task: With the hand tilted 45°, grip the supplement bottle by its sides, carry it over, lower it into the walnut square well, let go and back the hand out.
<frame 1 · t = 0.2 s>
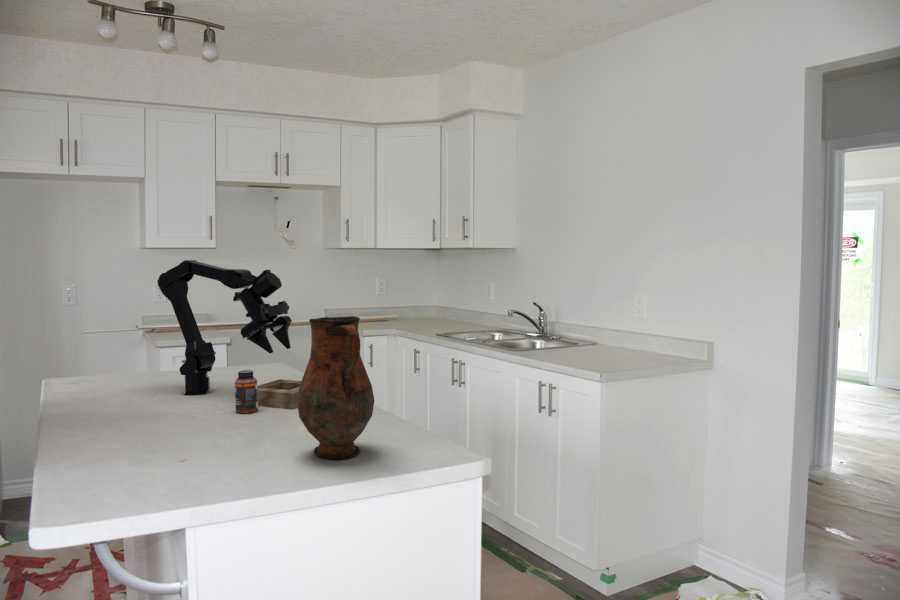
hand: (280, 350, 200), 15 cm above the counter, tool tilted 35°, fingers open, 9 cm apart
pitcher: (339, 456, 146), on the counter
supplement bottle: (246, 412, 187), on the counter
walnut well: (285, 401, 199), on the counter
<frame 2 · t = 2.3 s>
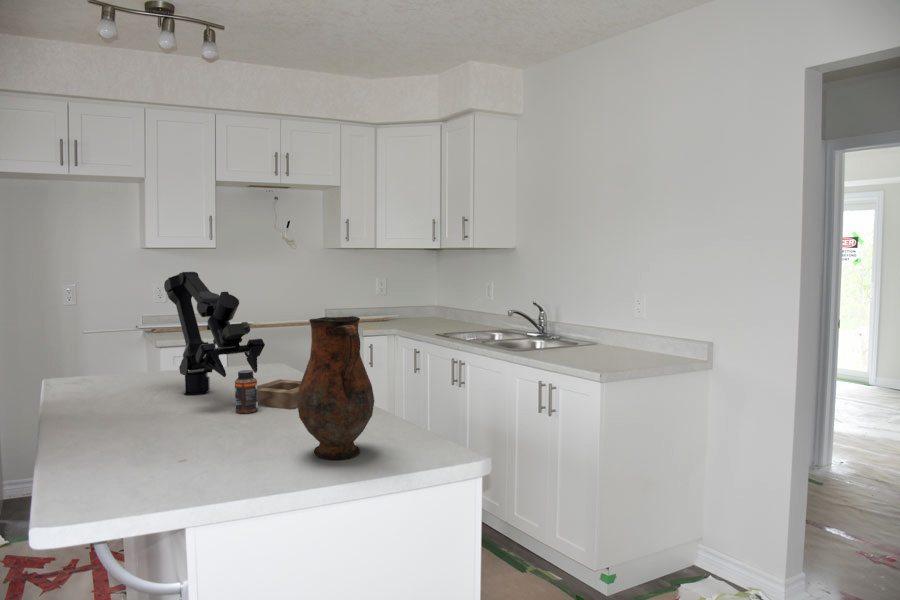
hand: (240, 373, 188), 10 cm above the counter, tool tilted 45°, fingers open, 9 cm apart
nothing on the counter moved.
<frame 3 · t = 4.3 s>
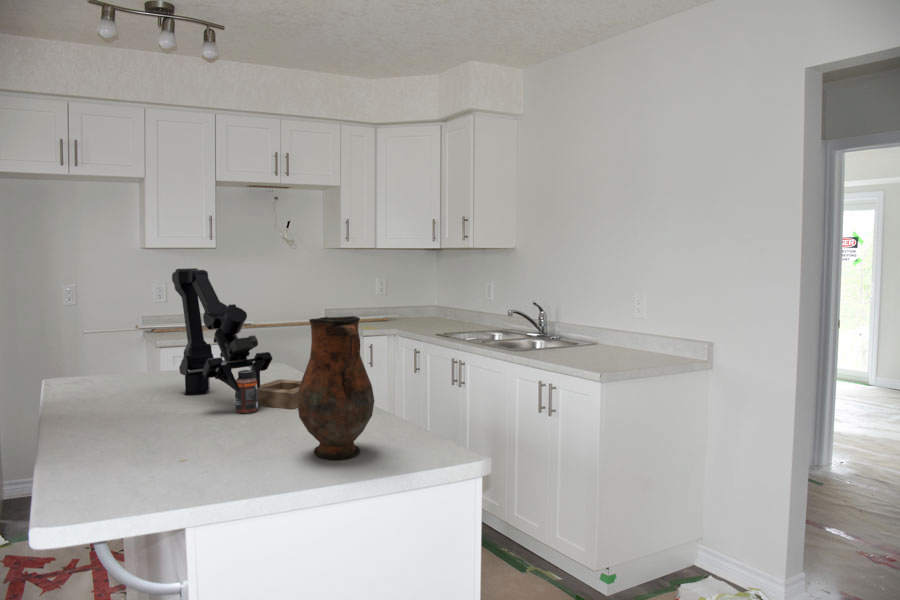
hand: (248, 388, 185), 7 cm above the counter, tool tilted 45°, fingers closed on supplement bottle, 6 cm apart
supplement bottle: (246, 412, 187), on the counter, touching gripper
everything else where it was.
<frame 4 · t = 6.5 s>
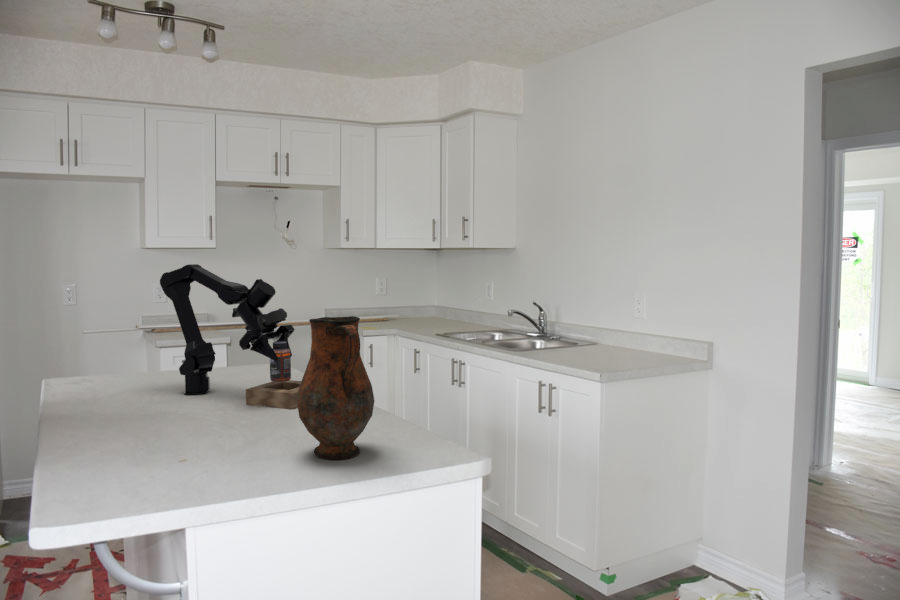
hand: (283, 358, 196), 13 cm above the counter, tool tilted 45°, fingers closed on supplement bottle, 6 cm apart
supplement bottle: (280, 381, 197), point 6 cm above the counter, touching gripper
everything else where it was.
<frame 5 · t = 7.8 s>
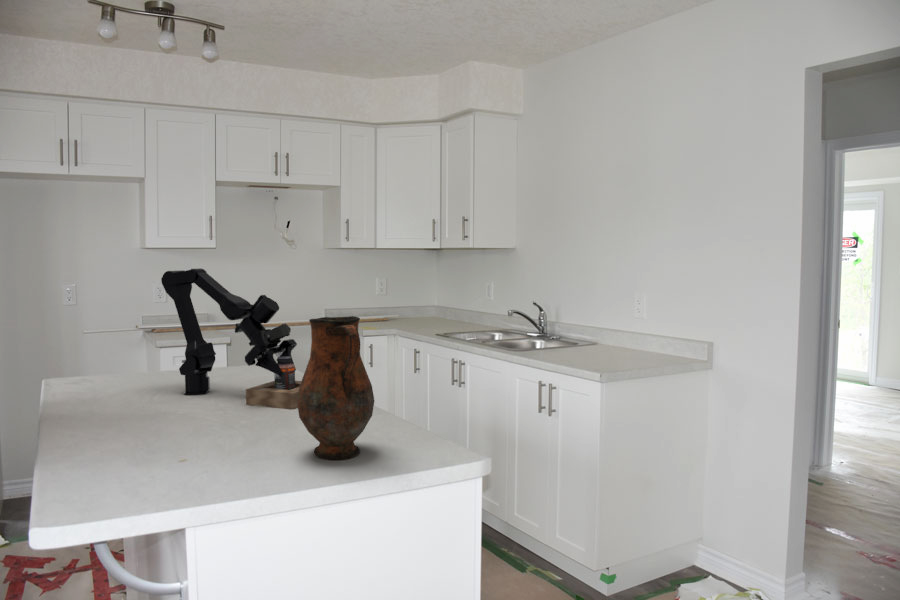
hand: (288, 373, 198), 8 cm above the counter, tool tilted 45°, fingers closed on supplement bottle, 6 cm apart
supplement bottle: (285, 395, 199), point 2 cm above the counter, touching gripper
everything else where it was.
when the fingers open (8 cm above the counter, at t = 8.7 s): supplement bottle drops 2 cm, resting in walnut well.
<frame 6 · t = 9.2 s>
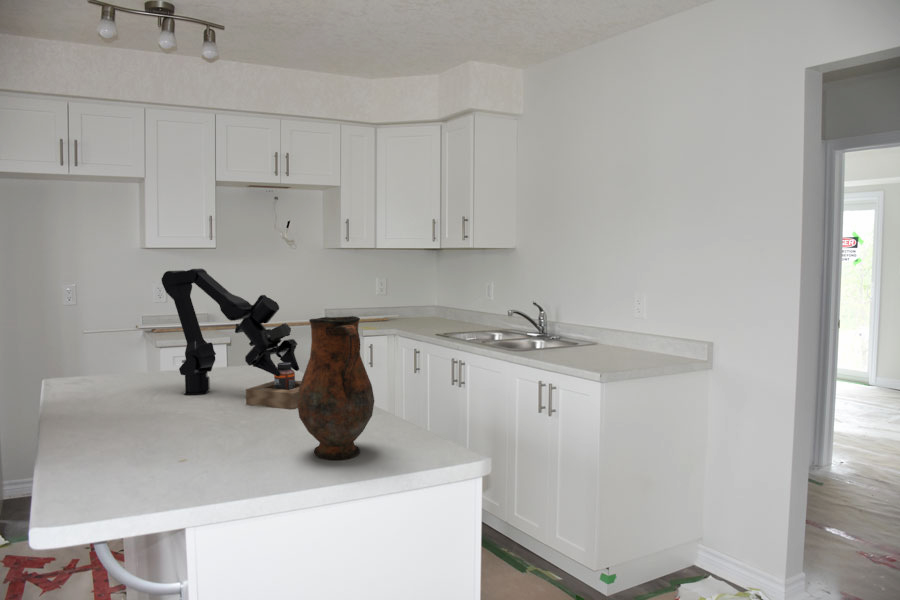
hand: (289, 372, 198), 9 cm above the counter, tool tilted 45°, fingers open, 9 cm apart
supplement bottle: (285, 401, 199), resting in walnut well
everything else where it was.
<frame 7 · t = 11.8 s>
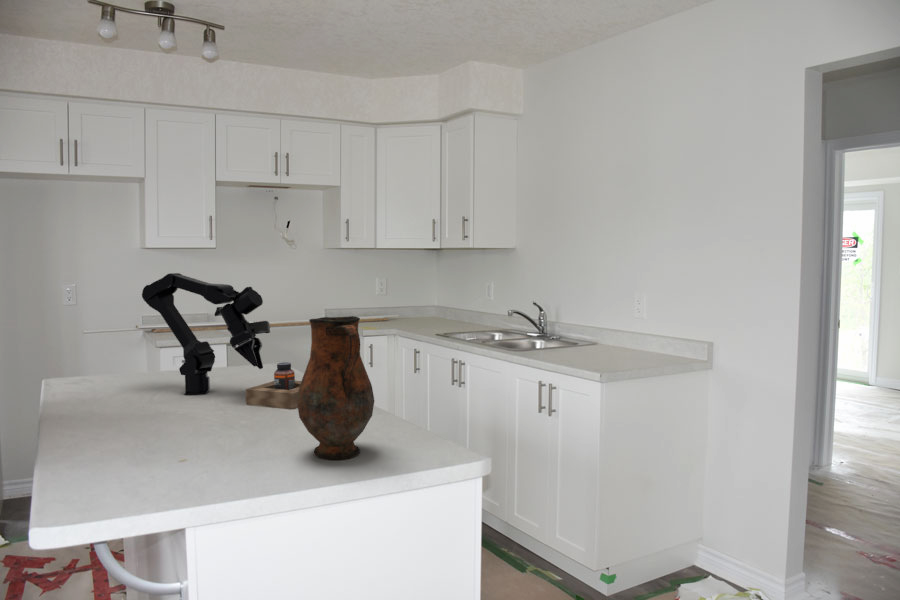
hand: (258, 367, 203), 9 cm above the counter, tool tilted 30°, fingers open, 9 cm apart
nothing on the counter moved.
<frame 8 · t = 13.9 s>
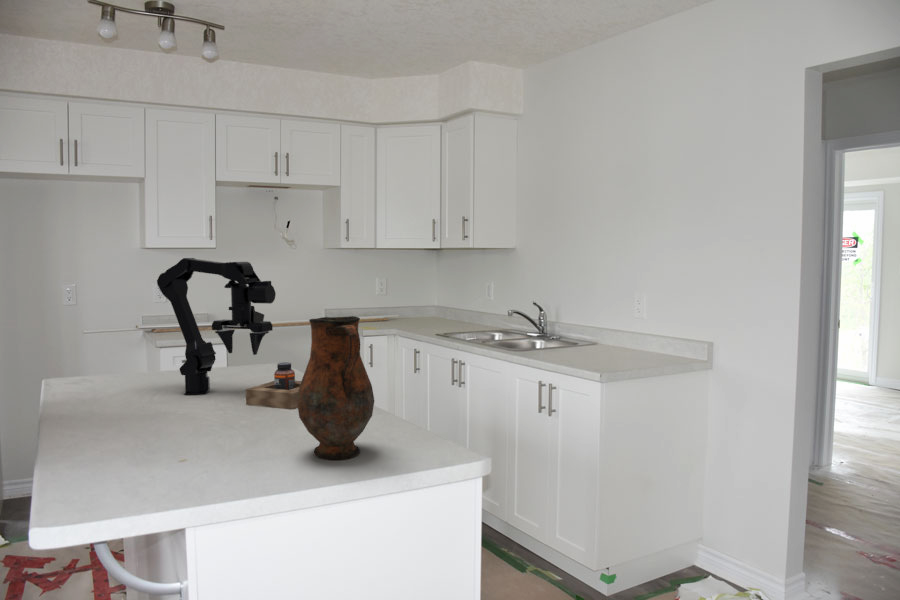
hand: (242, 353, 206), 13 cm above the counter, tool pointing down, fingers open, 9 cm apart
nothing on the counter moved.
at the end: supplement bottle 0.2 cm off-centre on the walnut well, point 0.0 cm above the walnut well's base; supplement bottle tilted 0°; the gripper is holding nothing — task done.
